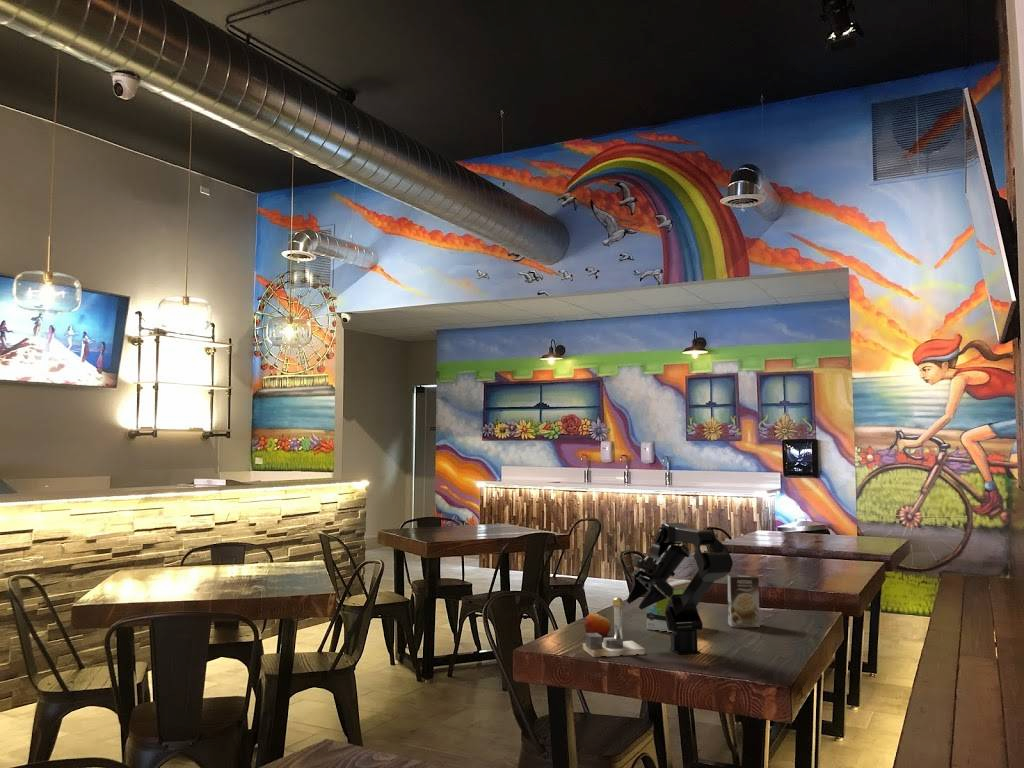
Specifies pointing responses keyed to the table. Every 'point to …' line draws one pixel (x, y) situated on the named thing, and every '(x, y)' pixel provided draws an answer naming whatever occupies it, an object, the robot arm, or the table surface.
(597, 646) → the board
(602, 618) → the fruit
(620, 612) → the gold knob lever
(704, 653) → the table surface
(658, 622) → the tea box
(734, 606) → the coffee box
